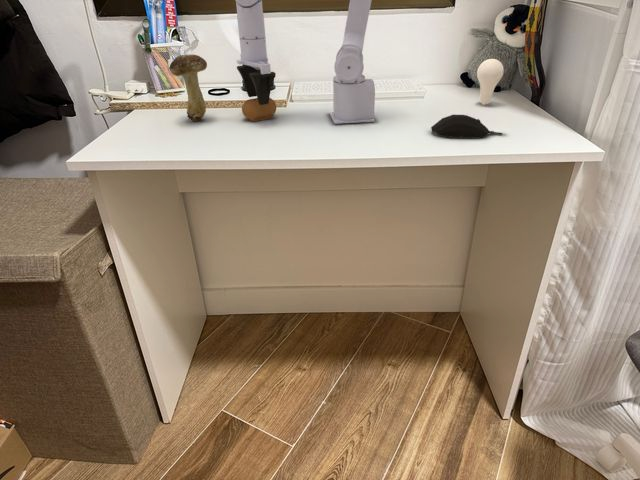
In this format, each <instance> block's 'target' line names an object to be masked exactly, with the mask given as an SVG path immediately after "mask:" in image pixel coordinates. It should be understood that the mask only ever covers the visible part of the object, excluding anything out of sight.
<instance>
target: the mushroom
mask: <svg viewBox="0 0 640 480" xmlns="http://www.w3.org/2000/svg"><path fill="white" fill-rule="evenodd" d="M207 68H208V63H207V61H206V59H204V58H203V57H201V56H200V55H197V54H193V53H192V54H187V53H185V54H180V55H178V56H175V58H174V59H172V61H171V63H170V64H169V68H168V69H169V71H170V73H171V74H172V75H173V76H175V77H182V79H183V81H184V85H185V89H186V93H187V107H186V114H187V116H186V117H187V118H188V121H191V122H199V121H201V119H202V118H203V117H204V115H205V114H206V112H207V105H206V101H205V99H204V95H203V93H202V91H201V90H202V89H201V87H200V84H199V83H200V82H199V77H198V73H200V72H203V71H205V70H206V69H207Z"/></svg>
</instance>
